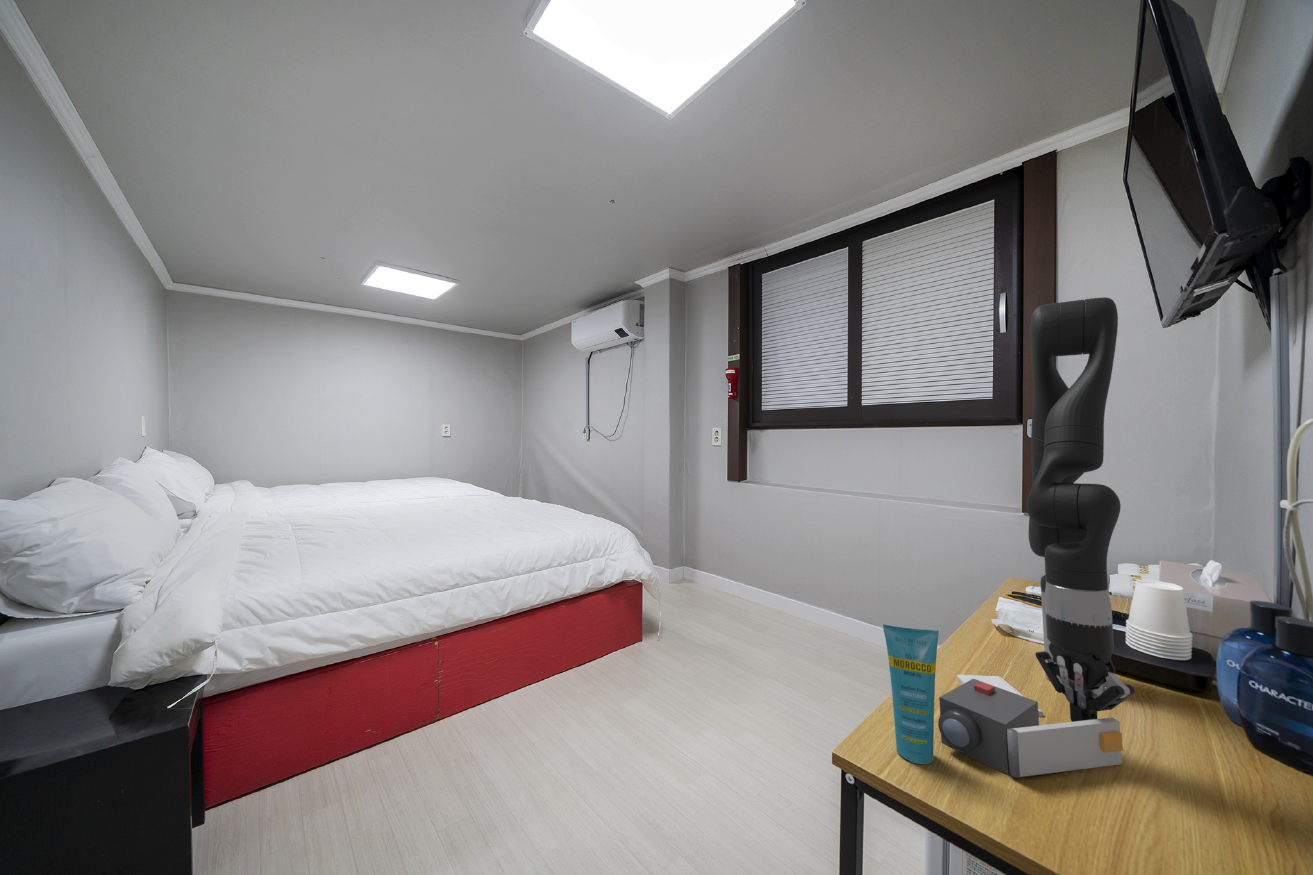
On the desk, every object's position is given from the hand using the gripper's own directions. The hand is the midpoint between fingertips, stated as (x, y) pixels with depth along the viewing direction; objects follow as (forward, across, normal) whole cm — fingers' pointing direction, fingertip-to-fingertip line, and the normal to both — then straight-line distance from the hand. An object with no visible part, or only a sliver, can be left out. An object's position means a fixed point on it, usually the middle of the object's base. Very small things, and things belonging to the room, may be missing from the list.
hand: (1084, 730), depth 69 cm
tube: (+4, +4, +25) cm, 26 cm away
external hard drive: (+4, +17, -1) cm, 17 cm away
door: (+3, -3, +7) cm, 8 cm away
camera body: (+3, +4, +13) cm, 14 cm away
